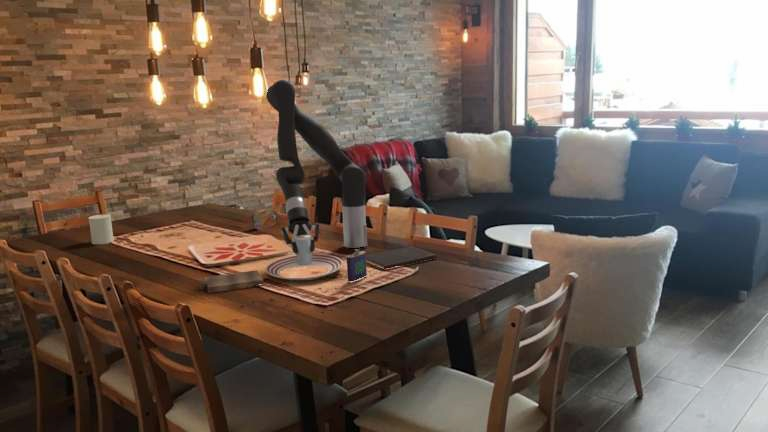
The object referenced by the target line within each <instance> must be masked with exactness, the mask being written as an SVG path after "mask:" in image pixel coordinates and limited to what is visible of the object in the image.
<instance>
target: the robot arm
mask: <svg viewBox="0 0 768 432" xmlns="http://www.w3.org/2000/svg"><path fill="white" fill-rule="evenodd" d="M267 91H268V92H267ZM266 92H267V95H266V94H265V96H266V100H267V102H268V103H269V105H270V106H271V107H272V108H273V109H274V110H276V112H278V125H277V127H278V128H277V136H276V140H277V141H276V142H277V151H278V157H279V160H280V161H282V162H289V163H291V164H292V165H293V166H284V167H283V166H282V167H279V168H278V169H277V171H276V172H275V173H276V175H275V178H276V180H277V183H278V185H279V187H280V189H281V190H282V193H283V196H284V201H285V212H286V217H287V221H288V226H287V227H285V226H284V227H281V230H280V232H281V235H282V238H283V240H284V241H285V244H286V245H288V246H289V245H291V248H292V253H294V255H296V254H297V245H296V241H295V236H297V235H300V234H308V235H310V236H311V238H310V244H311V253H314V251H315V248H316V246H315V242H316V243H317V242H318V241H319V231H320V224H318V223H316V224H312V223H311V221H310V217H309V211H308V205H307V203H306V201H305V195H304V194H305V193H304V191H303V188H302V187H301V186H300V185H302V184H303V183H304V181H305V179H306V173H305V171H304V169H303V166H302V164H301V162H300V159H299V155H298V146H297V137H296V132H297V133H298V135H300V137H301V138H302V139H303V141H305V143H306V144H307V145H308V146H309V147H310V148H311V149H312V150H313V151H314V152H315V154H317V155H318V156H319V157H320V158H321V159H322V160H323V161H325V162H326V163H327V164H328V165H329V167H331V169H332V170H333V171H334V173H335V174H336V175H337V177H338V178H339V180H340V182H341V189H342V191H341V192H342V193H341V194H342V197H341V198H342V199H341V208H342V210H341V211H342V228H343V229H342V230H343V247H344V246H345V247H348V248H357V247H363V246H367V247H368V231H367V230H368V229H367V222H366V221H367V218H366V217H367V216H366V198H367V196H366V177H365V172H364V171H363V169H362V168H361V167H359V165H357V164H355V163H354V162H353V161H352V160H351V159H350V158H349V157H348V156H347V155H346V154H345V153H344V152H343V151H342V149H341V148H340V146H339V145H338V143H337V141H336V140H335V138H334V137H333V136H332V134H331V133H330V132H329V131H328V130H327V128H326V127H325V126H324V125H323V124H322V122H320V121H319V120H317V119H316V118H315V117H313V116H312V115H309V114H307V113H306V112H305V111H304V110H302V109H301V108H300V107H299V106H298V105H297V104H296V90H295V85H293V83H292V82H290V81H289V80H287V79H281V80H278V81H276V82H274V83H273V84H272V85H271V86H270V87H268V88H267V90H266ZM311 230H312V231H313V233H314V236H313V235H312V233H311ZM288 233H291V234H292V238H290V237H289V234H288ZM345 247H344V248H345ZM348 248H347V249H348Z"/></svg>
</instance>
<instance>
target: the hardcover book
mask: <svg viewBox="0 0 768 432" xmlns="http://www.w3.org/2000/svg"><path fill="white" fill-rule="evenodd" d="M437 257H438V256H437V254H436V253H432V252H429V251H427V250H425V249H422V248H419V247H415V246H413V245H411V246H407V247H406V246H405V247H401V248H397V249H391V250H387V251H386V250H385V251H382V252H376V253H372V254H366V261H367V262H370V263H372V264H375V265H377V266H379V267H382V268H384V269H386V268H391V267H395V266H401V265H407V264H412V263H416V262H420V261H424V260H429V259H433V258H437Z"/></svg>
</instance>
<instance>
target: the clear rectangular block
mask: <svg viewBox="0 0 768 432" xmlns="http://www.w3.org/2000/svg"><path fill="white" fill-rule="evenodd" d="M249 220H250V226H251V227H252V228H253V229H254V230H263V229H268V228H270V227H273V226H275V225H276V223H277V221H278V214H277V211H276V210H275V209H274V208H266V209H261V210H258V211H255V212H253V213H252V214H251V215H250V219H249ZM267 227H268V228H267Z"/></svg>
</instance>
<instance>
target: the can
mask: <svg viewBox="0 0 768 432" xmlns="http://www.w3.org/2000/svg"><path fill="white" fill-rule="evenodd" d="M111 217H112V215H111V214H105V213H103V214H96V215H91V216H89V217H88V218H87V219H88V223H89V231H90V238H91V244H92V245H106V244H111V243H113V242H115V238H114V233H113V225H112V224H113V223H112V218H111ZM110 242H111V243H110Z"/></svg>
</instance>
